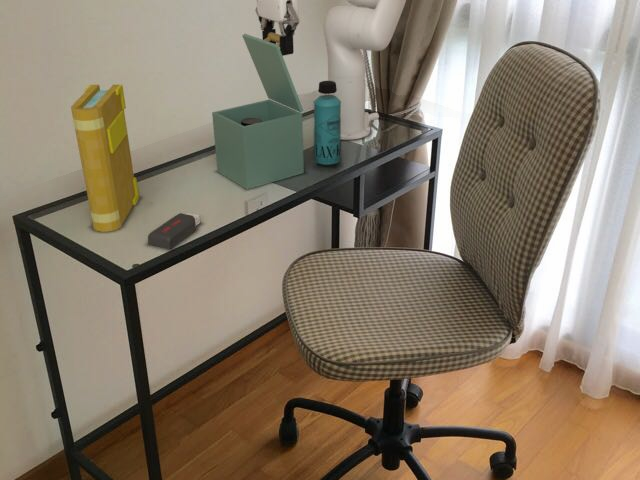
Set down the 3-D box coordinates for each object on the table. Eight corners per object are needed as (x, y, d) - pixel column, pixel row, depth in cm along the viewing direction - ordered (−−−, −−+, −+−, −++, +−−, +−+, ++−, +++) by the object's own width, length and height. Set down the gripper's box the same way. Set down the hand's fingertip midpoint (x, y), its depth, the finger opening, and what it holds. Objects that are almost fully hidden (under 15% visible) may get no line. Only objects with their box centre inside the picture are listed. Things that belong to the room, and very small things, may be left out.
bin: (247, 189, 176) (243, 127, 169) (217, 171, 186) (211, 112, 178) (303, 173, 184) (302, 113, 176) (272, 156, 193) (269, 99, 186)
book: (109, 197, 174) (89, 84, 160) (139, 197, 174) (122, 84, 160) (87, 231, 160) (64, 110, 146) (120, 231, 159) (100, 110, 146)
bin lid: (275, 46, 165) (295, 33, 166) (241, 35, 174) (261, 22, 176) (300, 112, 176) (319, 99, 177) (268, 98, 185) (286, 85, 187)
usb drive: (148, 244, 154) (146, 231, 153) (182, 220, 163) (181, 208, 162) (170, 249, 152) (168, 236, 151) (204, 224, 161) (202, 212, 160)
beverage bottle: (308, 166, 188) (306, 82, 177) (327, 158, 192) (326, 76, 181) (328, 173, 184) (327, 87, 173) (347, 165, 188) (347, 81, 177)
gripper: (313, -34, 160) (314, 56, 170) (267, -43, 172) (271, 41, 181) (282, -30, 156) (285, 62, 166) (237, -40, 168) (243, 46, 178)
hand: (278, 50), depth 174 cm, fingers closed on bin lid, 6 cm apart
